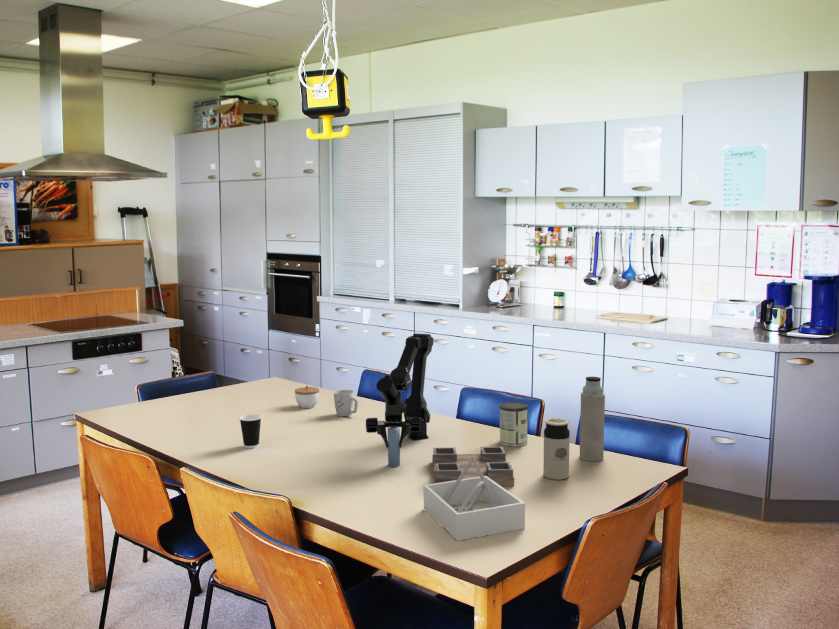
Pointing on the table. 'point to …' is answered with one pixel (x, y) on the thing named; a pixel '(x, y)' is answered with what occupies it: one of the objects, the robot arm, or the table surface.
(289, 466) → the table surface
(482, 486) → the wire frame
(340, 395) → the mug
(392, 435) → the stool leg
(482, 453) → the four-cup wooden tray
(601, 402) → the thermos bottle
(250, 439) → the dixie cup
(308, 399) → the lidded jar
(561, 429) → the travel mug
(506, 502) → the open square box
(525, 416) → the coffee can
